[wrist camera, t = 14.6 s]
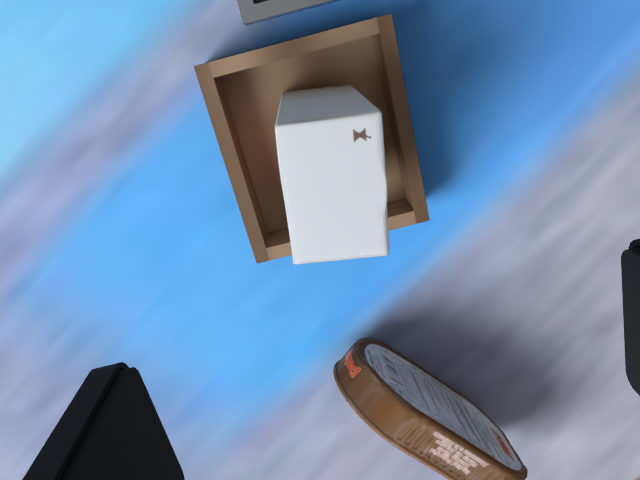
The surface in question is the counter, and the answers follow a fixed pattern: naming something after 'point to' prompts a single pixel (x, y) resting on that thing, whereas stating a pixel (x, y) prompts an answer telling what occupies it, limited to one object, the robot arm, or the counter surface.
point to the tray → (300, 74)
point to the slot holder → (274, 8)
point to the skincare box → (332, 174)
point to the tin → (424, 415)
